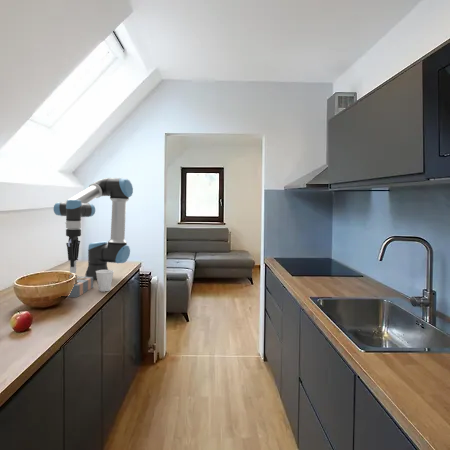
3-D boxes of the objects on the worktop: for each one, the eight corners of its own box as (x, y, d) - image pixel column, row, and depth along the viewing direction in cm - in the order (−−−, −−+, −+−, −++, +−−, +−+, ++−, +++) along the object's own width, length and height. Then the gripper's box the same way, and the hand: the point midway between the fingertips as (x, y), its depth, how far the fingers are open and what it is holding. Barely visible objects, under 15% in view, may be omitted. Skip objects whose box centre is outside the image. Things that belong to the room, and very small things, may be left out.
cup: (99, 293, 220) (99, 273, 220) (92, 289, 228) (92, 270, 227) (116, 291, 227) (116, 271, 226) (109, 287, 234) (109, 269, 234)
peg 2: (79, 287, 231) (79, 277, 230) (86, 288, 231) (86, 277, 230) (76, 289, 227) (76, 278, 226) (83, 289, 227) (83, 279, 226)
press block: (77, 286, 235) (77, 276, 234) (93, 287, 235) (93, 277, 234) (59, 296, 211) (59, 285, 210) (76, 297, 211) (77, 285, 210)
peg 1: (70, 285, 219) (71, 274, 218) (78, 285, 218) (78, 274, 218) (67, 287, 215) (67, 276, 214) (75, 287, 214) (75, 276, 214)
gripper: (71, 227, 221) (71, 270, 223) (61, 229, 208) (60, 274, 210) (85, 228, 221) (84, 270, 222) (75, 229, 208) (75, 275, 209)
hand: (73, 272), depth 216 cm, fingers closed
